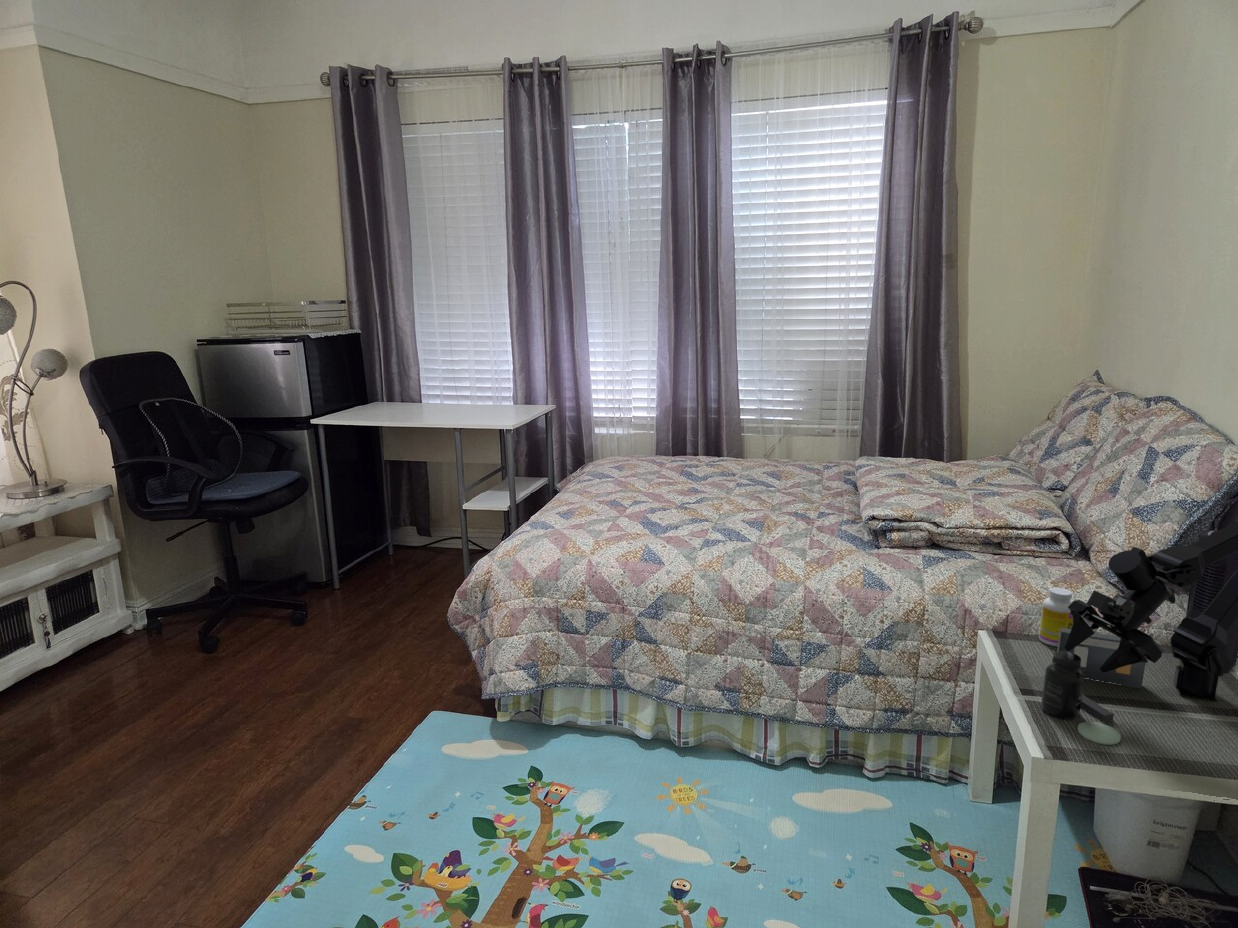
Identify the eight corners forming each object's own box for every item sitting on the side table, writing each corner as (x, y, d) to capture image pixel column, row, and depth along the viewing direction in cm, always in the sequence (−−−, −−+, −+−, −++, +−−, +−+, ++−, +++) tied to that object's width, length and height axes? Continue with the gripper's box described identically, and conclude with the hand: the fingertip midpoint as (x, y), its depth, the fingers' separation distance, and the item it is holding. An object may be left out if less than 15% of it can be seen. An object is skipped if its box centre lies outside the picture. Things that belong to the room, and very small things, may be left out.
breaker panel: (1139, 683, 172) (1146, 640, 169) (1141, 689, 169) (1148, 645, 167) (1054, 669, 178) (1060, 627, 175) (1055, 674, 175) (1061, 632, 173)
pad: (1117, 729, 154) (1117, 726, 154) (1122, 748, 148) (1123, 745, 148) (1075, 721, 157) (1076, 718, 157) (1079, 739, 151) (1080, 736, 151)
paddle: (1085, 664, 173) (1087, 647, 172) (1085, 667, 171) (1088, 650, 170) (1072, 662, 173) (1074, 645, 173) (1073, 665, 172) (1075, 648, 171)
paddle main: (1128, 671, 169) (1131, 654, 169) (1129, 674, 168) (1132, 656, 167) (1115, 669, 170) (1117, 652, 169) (1116, 672, 169) (1118, 654, 168)
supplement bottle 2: (1086, 720, 157) (1094, 664, 155) (1051, 720, 158) (1058, 664, 155) (1068, 702, 164) (1075, 648, 161) (1034, 702, 164) (1041, 648, 162)
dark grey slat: (1049, 688, 170) (1050, 681, 170) (1057, 687, 171) (1058, 679, 170) (1103, 723, 157) (1104, 715, 157) (1112, 722, 158) (1113, 713, 157)
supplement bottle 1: (1068, 650, 187) (1075, 598, 184) (1036, 643, 190) (1043, 592, 187) (1071, 639, 192) (1078, 589, 189) (1040, 633, 196) (1046, 583, 193)
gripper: (1081, 562, 165) (1028, 616, 166) (1159, 596, 148) (1099, 657, 148) (1108, 595, 169) (1056, 648, 169) (1187, 632, 151) (1129, 692, 151)
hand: (1083, 660), depth 159 cm, fingers open, 9 cm apart
